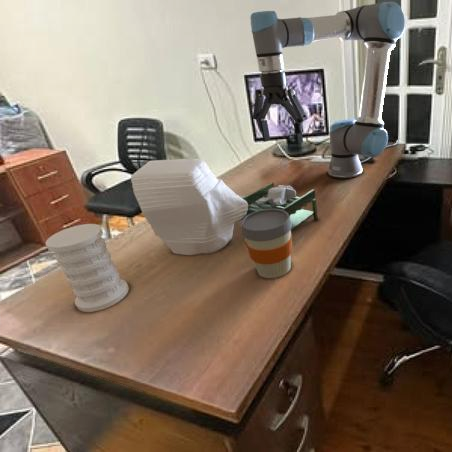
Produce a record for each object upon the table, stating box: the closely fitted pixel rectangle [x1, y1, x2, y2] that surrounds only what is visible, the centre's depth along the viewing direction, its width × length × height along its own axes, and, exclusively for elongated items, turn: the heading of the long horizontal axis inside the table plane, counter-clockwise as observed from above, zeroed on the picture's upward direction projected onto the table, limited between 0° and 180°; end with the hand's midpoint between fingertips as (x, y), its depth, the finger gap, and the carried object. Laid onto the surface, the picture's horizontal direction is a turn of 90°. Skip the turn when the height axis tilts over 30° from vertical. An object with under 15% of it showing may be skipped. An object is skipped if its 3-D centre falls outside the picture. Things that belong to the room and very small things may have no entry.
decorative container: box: [45, 223, 130, 313], centre depth 84 cm, size 12×12×18 cm
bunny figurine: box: [258, 184, 297, 206], centre depth 112 cm, size 10×5×15 cm
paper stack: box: [130, 158, 248, 256], centre depth 101 cm, size 21×27×26 cm
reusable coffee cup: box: [240, 209, 293, 279], centre depth 91 cm, size 13×13×15 cm
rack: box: [242, 181, 319, 232], centre depth 114 cm, size 16×18×11 cm
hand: (282, 141), depth 115 cm, fingers open, 13 cm apart
